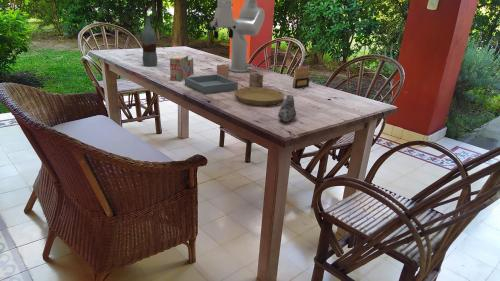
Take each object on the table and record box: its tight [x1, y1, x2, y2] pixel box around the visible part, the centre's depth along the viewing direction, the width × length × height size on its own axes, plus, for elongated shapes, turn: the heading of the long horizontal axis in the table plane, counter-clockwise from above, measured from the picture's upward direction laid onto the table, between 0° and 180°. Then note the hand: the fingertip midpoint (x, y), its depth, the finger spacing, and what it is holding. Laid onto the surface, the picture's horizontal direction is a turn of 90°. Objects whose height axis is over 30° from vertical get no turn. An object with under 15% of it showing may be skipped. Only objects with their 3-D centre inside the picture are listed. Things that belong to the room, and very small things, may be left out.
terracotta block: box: [216, 64, 230, 79], centre depth 214 cm, size 5×5×7 cm
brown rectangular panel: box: [292, 64, 310, 89], centre depth 202 cm, size 11×2×12 cm, turn 127°
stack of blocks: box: [169, 53, 194, 82], centre depth 211 cm, size 21×6×12 cm, turn 170°
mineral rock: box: [277, 94, 297, 122], centre depth 152 cm, size 13×11×10 cm
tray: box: [184, 73, 239, 95], centre depth 193 cm, size 20×20×4 cm
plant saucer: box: [233, 87, 286, 106], centre depth 178 cm, size 24×24×3 cm
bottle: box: [140, 15, 158, 68], centre depth 230 cm, size 9×9×30 cm
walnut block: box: [248, 72, 264, 88], centre depth 198 cm, size 5×5×7 cm
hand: (223, 38), depth 207 cm, fingers open, 9 cm apart
